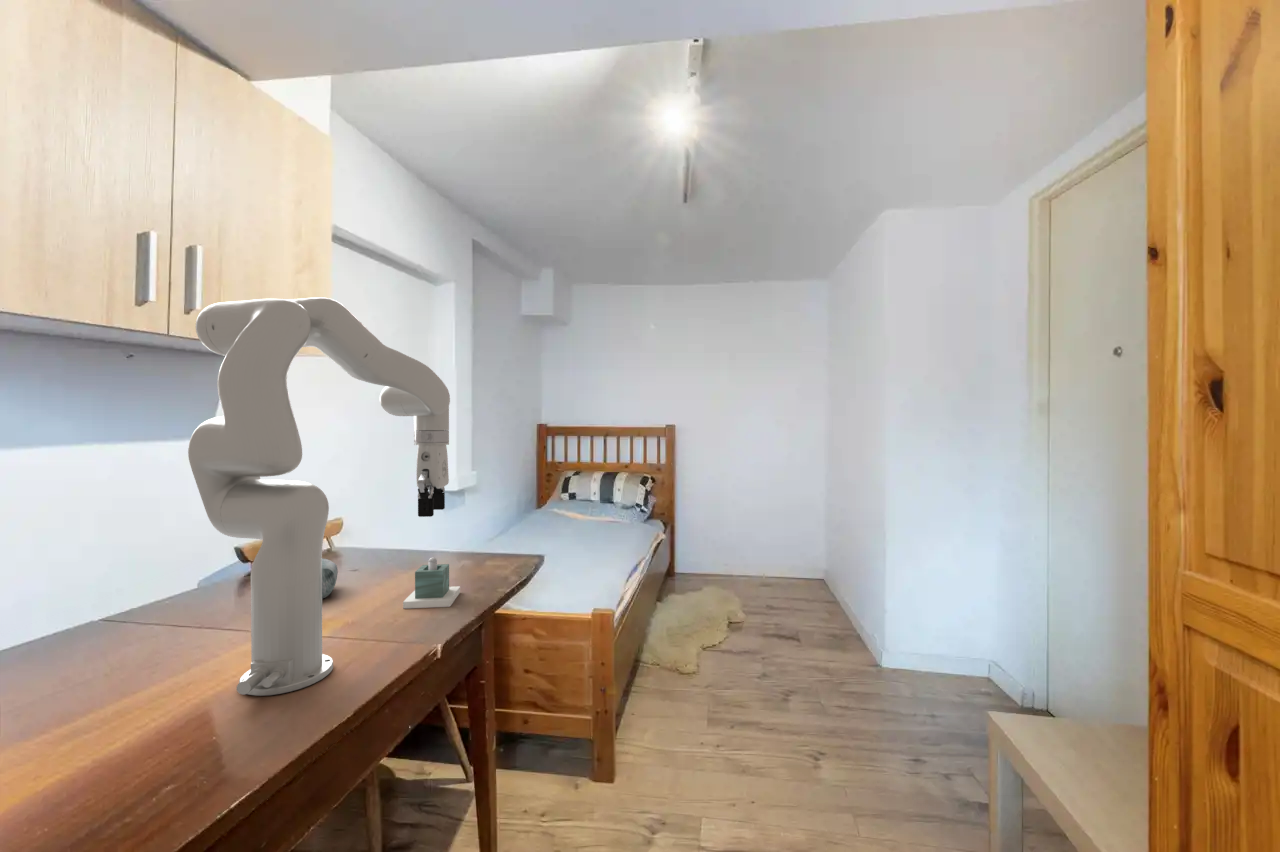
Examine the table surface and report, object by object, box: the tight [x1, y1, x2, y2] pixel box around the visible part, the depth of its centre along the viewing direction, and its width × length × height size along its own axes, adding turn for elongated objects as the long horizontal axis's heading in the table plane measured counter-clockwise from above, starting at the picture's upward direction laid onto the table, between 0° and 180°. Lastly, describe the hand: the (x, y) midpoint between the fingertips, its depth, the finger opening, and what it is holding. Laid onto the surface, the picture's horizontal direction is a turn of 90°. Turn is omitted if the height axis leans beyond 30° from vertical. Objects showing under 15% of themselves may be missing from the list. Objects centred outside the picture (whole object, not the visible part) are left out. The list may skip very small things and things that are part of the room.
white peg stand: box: [402, 556, 461, 610], centre depth 123 cm, size 10×10×10 cm
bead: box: [414, 563, 450, 599], centre depth 123 cm, size 6×6×6 cm
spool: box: [322, 557, 339, 600], centre depth 127 cm, size 14×10×10 cm
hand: (431, 512), depth 123 cm, fingers open, 9 cm apart
